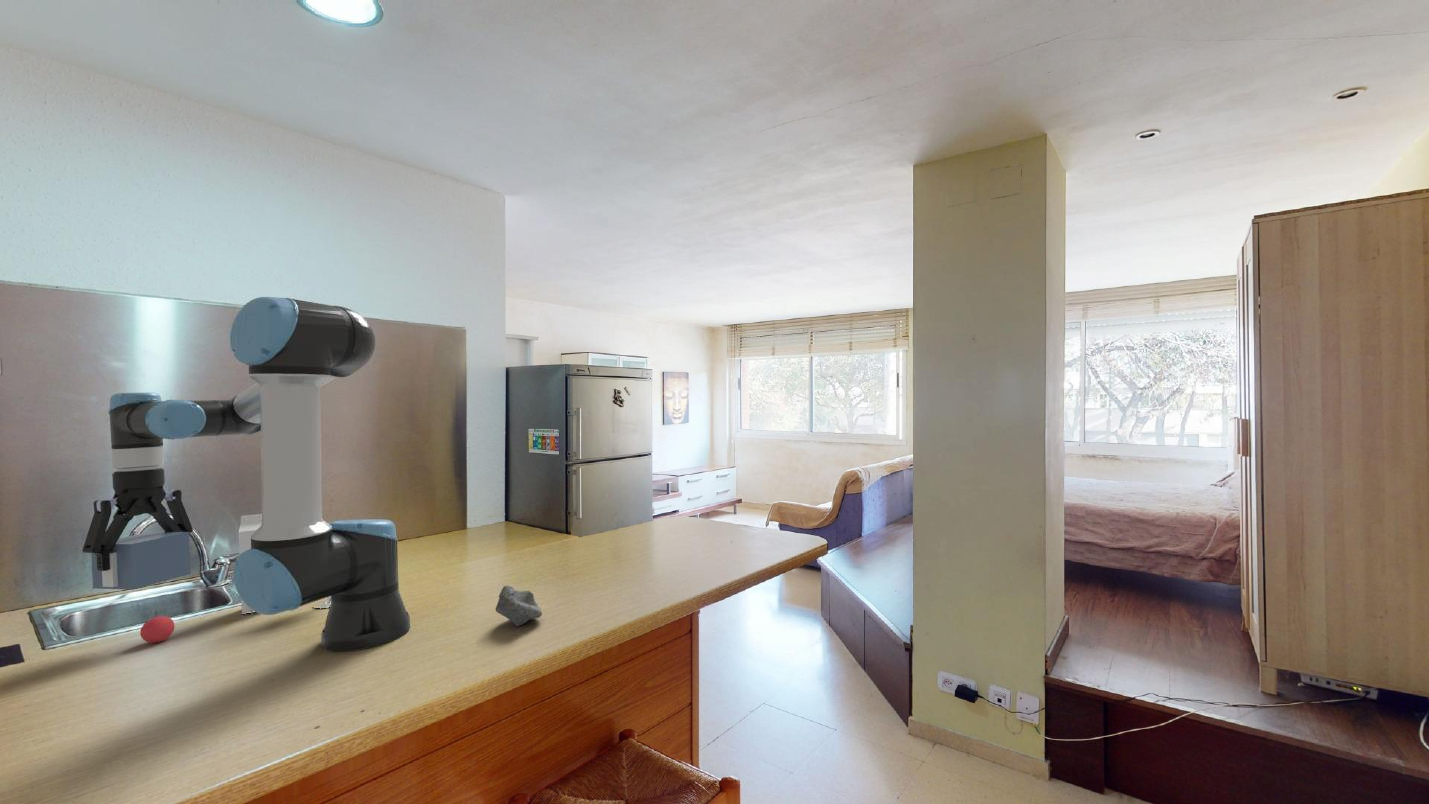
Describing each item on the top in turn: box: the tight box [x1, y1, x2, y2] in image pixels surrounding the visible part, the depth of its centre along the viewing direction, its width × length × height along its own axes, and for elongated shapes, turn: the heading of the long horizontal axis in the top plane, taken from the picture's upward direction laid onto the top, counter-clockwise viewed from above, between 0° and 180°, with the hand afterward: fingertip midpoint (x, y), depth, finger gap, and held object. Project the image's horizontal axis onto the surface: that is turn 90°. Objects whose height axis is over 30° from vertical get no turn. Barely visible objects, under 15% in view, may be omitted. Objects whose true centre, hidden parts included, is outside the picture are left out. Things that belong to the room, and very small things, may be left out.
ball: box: [139, 615, 176, 644], centre depth 117 cm, size 5×5×5 cm
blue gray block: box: [90, 531, 191, 591], centre depth 118 cm, size 10×10×9 cm
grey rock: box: [495, 585, 543, 627], centre depth 119 cm, size 11×9×8 cm
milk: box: [238, 513, 262, 615], centre depth 135 cm, size 6×6×22 cm
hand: (143, 577), depth 118 cm, fingers closed on blue gray block, 10 cm apart
